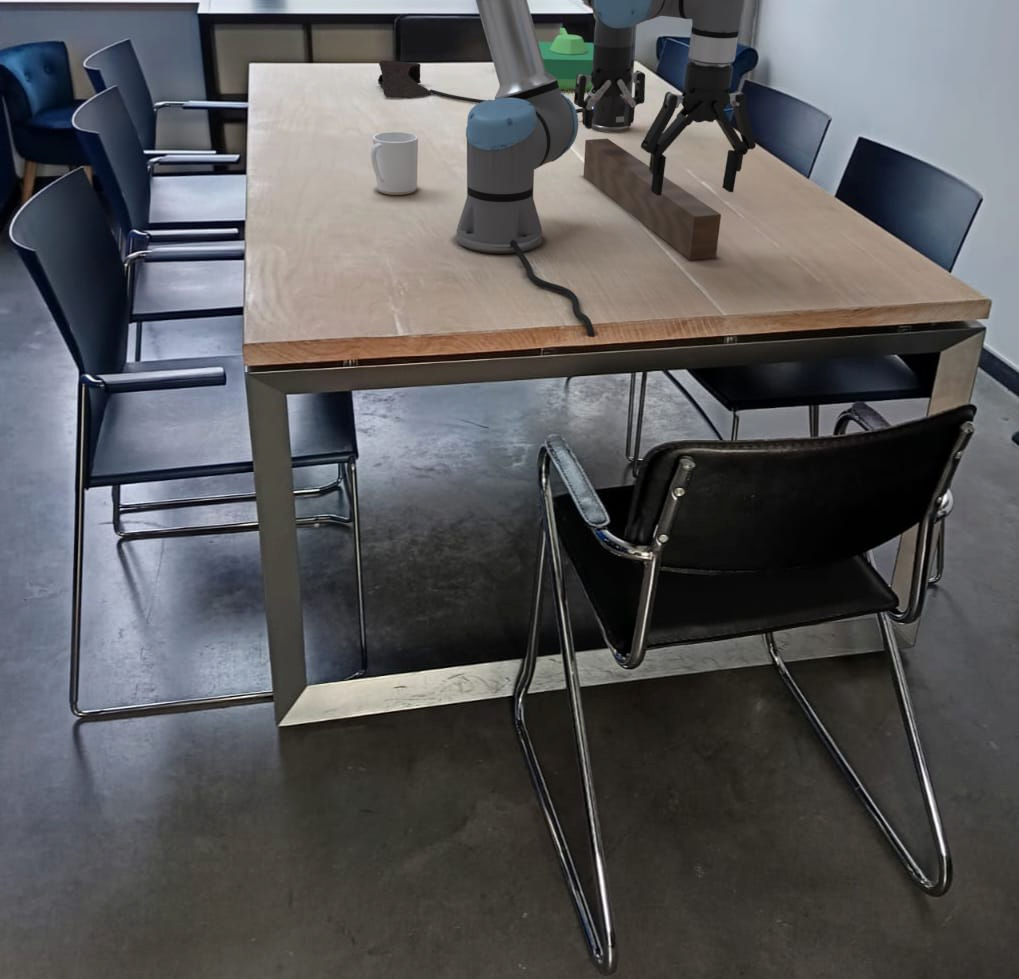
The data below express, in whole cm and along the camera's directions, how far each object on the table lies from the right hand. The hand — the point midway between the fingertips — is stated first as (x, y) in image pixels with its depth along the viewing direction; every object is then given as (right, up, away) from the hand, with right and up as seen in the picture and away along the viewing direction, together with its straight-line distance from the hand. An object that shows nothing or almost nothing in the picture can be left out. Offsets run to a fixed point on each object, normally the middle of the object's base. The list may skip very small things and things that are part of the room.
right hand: (607, 126), depth 222 cm
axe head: (-49, +36, +78) cm, 99 cm away
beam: (+6, -20, -11) cm, 24 cm away
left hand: (+12, -22, -33) cm, 42 cm away
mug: (-43, -13, -2) cm, 45 cm away
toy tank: (-4, +46, +96) cm, 106 cm away
